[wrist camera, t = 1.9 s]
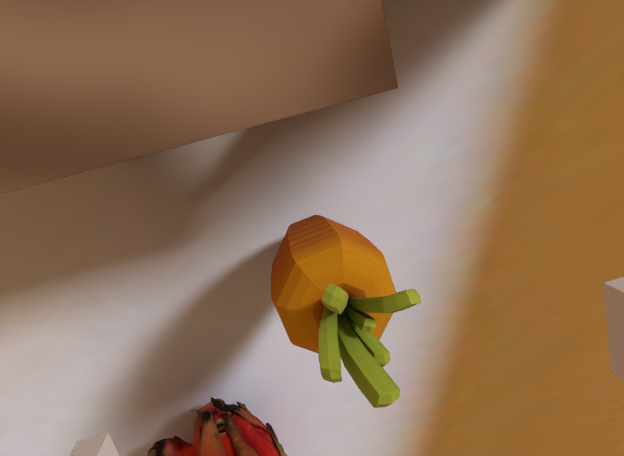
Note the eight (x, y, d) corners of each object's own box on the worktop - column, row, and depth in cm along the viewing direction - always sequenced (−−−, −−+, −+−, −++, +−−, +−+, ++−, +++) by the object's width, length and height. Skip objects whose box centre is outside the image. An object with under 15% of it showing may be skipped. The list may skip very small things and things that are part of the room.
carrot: (266, 191, 26) (278, 284, 11) (349, 192, 26) (460, 281, 12) (266, 271, 27) (275, 447, 12) (345, 270, 27) (441, 437, 13)
